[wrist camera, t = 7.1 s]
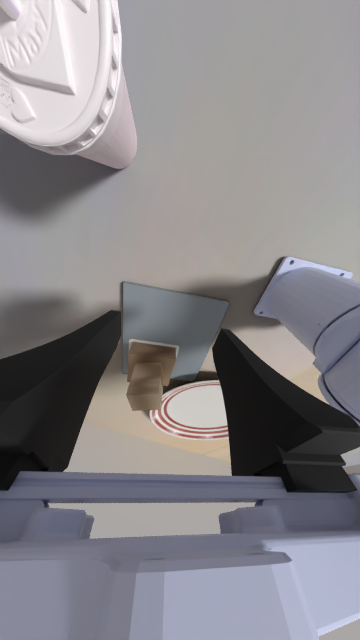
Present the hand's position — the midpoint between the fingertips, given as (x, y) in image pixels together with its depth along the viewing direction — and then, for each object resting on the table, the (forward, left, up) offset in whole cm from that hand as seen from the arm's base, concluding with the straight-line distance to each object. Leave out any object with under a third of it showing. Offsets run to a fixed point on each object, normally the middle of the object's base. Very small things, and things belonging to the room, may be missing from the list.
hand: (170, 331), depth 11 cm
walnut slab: (+1, +14, -9) cm, 17 cm away
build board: (-1, +10, -10) cm, 14 cm away
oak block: (+1, +14, -7) cm, 15 cm away
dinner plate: (-14, +28, -10) cm, 33 cm away
